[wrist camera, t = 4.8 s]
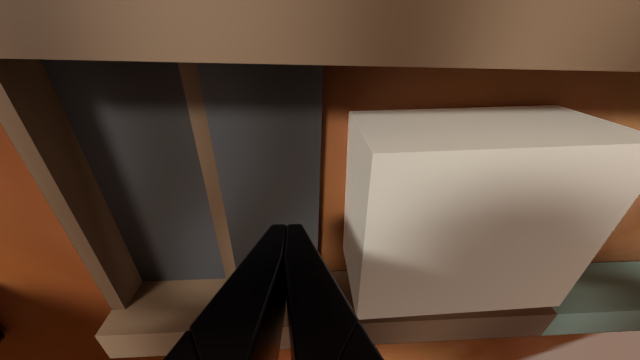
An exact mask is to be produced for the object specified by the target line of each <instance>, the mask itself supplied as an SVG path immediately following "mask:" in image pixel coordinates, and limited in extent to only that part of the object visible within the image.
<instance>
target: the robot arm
mask: <svg viewBox="0 0 640 360" xmlns="http://www.w3.org/2000/svg"><path fill="white" fill-rule="evenodd" d="M286 302H287V318H288V329H289V340H290V350H291V360H384V359H383V357H382V356H381V354H380V353H379V351H378V350H377V348H376V346H375V345H374V343H373V342H372V340H371V339H370V337H369V335H368V334H367V332H366V330H365V329H364V327H363V325H362V324H361V323H359V319H358V317H357V316H356V314H355V312H354V311H353V309H352V307H351V306H350V304H349V302H348V301H347V299H346V297H345V296H344V294H343V292H342V290H341V289H340V287H339V285H338V284H337V282H336V280H335V279H334V277H333V275H332V274H331V272H330V270H329V269H328V267H327V265H326V264H325V262H324V260H323V259H322V257H321V255H320V254H319V252H318V250H317V249H316V247H315V245H314V244H313V242H312V240H311V239H310V237H309V235H308V234H307V232H306V230H305V229H304V227H303V225H302V224H288V225H287V226H286V225H285V224H273V225H271V226H270V227H269V228H268V230H267V231H266V232H265V233H264V235H263V236H262V237H261V238H260V240H259V241H258V242H257V243H256V245H255V246H254V247H253V248H252V250H251V251H250V252H249V253H248V255H247V256H246V257H245V258H244V260H243V261H242V262H241V263H240V265H239V266H238V267H237V268H236V270H235V271H234V272H233V273H232V275H231V276H230V277H229V278H228V280H227V281H226V282H225V283H224V285H223V286H222V287H221V288H220V290H219V291H218V292H217V293H216V295H215V296H214V297H213V298H212V300H211V301H210V302H209V303H208V305H207V306H206V307H205V308H204V310H203V311H202V312H201V313H200V314H199V316H198V317H197V318H196V319H195V321H194V322H193V323H192V324H191V326H190V327H189V329H190V331H189V330H187V331H186V332H185V333H184V334H183V335H182V337H181V338H180V339H179V340H178V342H177V343H176V344H175V345H174V347H173V348H172V349H171V350H170V351H169V353H168V354H167V355H166V356H165V357H164V359H163V360H278V357H279V350H280V343H281V337H282V330H283V324H284V317H285V309H286ZM4 338H5V335H4V333H3V332H2V331H1V330H0V342H1V341H2V340H3V339H4Z"/></svg>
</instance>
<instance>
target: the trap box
mask: <svg viewBox="0 0 640 360" xmlns="http://www.w3.org/2000/svg"><path fill="white" fill-rule="evenodd" d="M323 65H335V66H384V67H432V68H480V69H529V70H577V71H625V72H640V0H0V123H1V124H2V126H3V128H4V129H5V131H6V133H7V134H8V136H9V138H10V140H11V141H12V143H13V145H14V146H15V148H16V150H17V151H18V153H19V155H20V156H21V158H22V160H23V161H24V163H25V165H26V166H27V168H28V170H29V171H30V173H31V175H32V177H33V178H34V180H35V182H36V183H37V185H38V187H39V188H40V190H41V192H42V193H43V195H44V197H45V198H46V200H47V202H48V203H49V205H50V207H51V209H52V210H53V212H54V214H55V215H56V217H57V219H58V220H59V222H60V224H61V225H62V227H63V229H64V230H65V232H66V234H67V235H68V237H69V239H70V240H71V242H72V244H73V246H74V247H75V249H76V251H77V252H78V254H79V256H80V257H81V259H82V261H83V262H84V264H85V266H86V267H87V269H88V271H89V272H90V274H91V276H92V277H93V279H94V281H95V283H96V284H97V286H98V288H99V289H100V291H101V293H102V294H103V296H104V298H105V299H106V301H107V303H108V304H109V306H110V308H111V309H112V311H111V312H110V314H109V315H108V317H107V318H106V320H105V321H104V323H103V324H102V326H101V327H100V329H99V330H98V332H97V333H96V335H95V338H96V339H97V340H98V342H99V343H100V345H101V346H102V348H103V349H104V350H105V352H106V353H107V355H108V356H109V358H110V359H111V358H130V357H149V356H166V355H167V354H168V353H169V351H170V350H171V349H172V348H173V347H174V345H175V344H176V343H177V342H178V340H179V339H180V338H181V337H182V335H183V334H184V333H185V332H186V331H187V330H189V331H190V329H189V327H190V326H191V324H192V323H193V322H194V321H195V319H196V318H197V317H198V316H199V314H200V313H201V312H202V311H203V310H204V308H205V307H206V306H207V305H208V303H209V302H210V301H211V300H212V298H213V297H214V296H215V295H216V293H217V292H218V291H219V290H220V288H221V287H222V286H223V285H224V283H225V282H226V281H227V280H228V278H229V277H230V276H231V275H232V273H233V272H234V271H235V270H236V268H237V267H238V266H239V265H240V263H241V262H242V261H243V260H244V258H245V257H246V256H247V255H248V253H249V252H250V251H251V250H252V248H253V247H254V246H255V245H256V243H257V242H258V241H259V240H260V238H261V237H262V236H263V235H264V233H265V232H266V231H267V230H268V228H269V227H270V226H271V225H273V224H285V225H286V226H287V225H288V224H302V225H303V227H304V229H305V230H306V232H307V234H308V235H309V237H310V239H311V240H312V242H313V244H314V245H315V247H316V249H317V250H318V226H319V193H320V161H321V128H322V96H323ZM331 274H332V275H333V277H334V279H335V280H336V282H337V284H338V285H339V287H340V289H341V290H342V292H343V294H344V296H345V297H346V299H347V301H348V302H349V304H350V306H351V307H352V309H353V311H354V312H355V309H354V304H353V299H352V294H351V288H350V283H349V278H348V272H347V271H331ZM359 323H361V324H362V325H363V327H364V329H365V330H366V332H367V334H368V335H369V337H370V339H371V340H372V342H373V343H374V345H375V344H394V343H413V342H432V341H451V340H470V339H489V338H508V337H527V336H545V335H564V334H583V333H602V332H621V331H638V330H639V331H640V261H632V262H602V263H590V264H589V265H588V267H587V268H586V269H585V271H584V272H583V274H582V275H581V276H580V278H579V279H578V281H577V282H576V283H575V285H574V286H573V288H572V289H571V290H570V292H569V293H568V295H567V296H566V297H565V299H564V300H563V302H562V303H561V304H560V306H553V307H538V308H524V309H509V310H494V311H480V312H465V313H450V314H436V315H421V316H406V317H392V318H377V319H362V320H359ZM281 349H290V340H289V329H288V318H287V302H286V309H285V317H284V324H283V330H282V337H281V343H280V350H281Z"/></svg>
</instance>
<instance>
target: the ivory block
mask: <svg viewBox="0 0 640 360" xmlns="http://www.w3.org/2000/svg"><path fill="white" fill-rule="evenodd" d="M639 194H640V131H639V130H636V129H633V128H630V127H626V126H623V125H620V124H617V123H614V122H610V121H607V120H604V119H601V118H598V117H594V116H591V115H588V114H585V113H582V112H578V111H575V110H572V109H569V108H566V107H562V106H559V105H540V106H506V107H472V108H439V109H405V110H371V111H349V122H348V145H347V168H346V191H345V214H344V236H343V251H344V257H345V262H346V267H347V272H348V278H349V283H350V288H351V294H352V299H353V304H354V309H355V314H356V316H357V317H358V319H359V320H362V319H377V318H392V317H406V316H421V315H436V314H450V313H465V312H480V311H494V310H509V309H524V308H538V307H553V306H560V304H561V303H562V302H563V300H564V299H565V297H566V296H567V295H568V293H569V292H570V290H571V289H572V288H573V286H574V285H575V283H576V282H577V281H578V279H579V278H580V276H581V275H582V274H583V272H584V271H585V269H586V268H587V267H588V265H589V264H590V262H591V261H592V260H593V258H594V257H595V255H596V254H597V253H598V251H599V250H600V249H601V247H602V246H603V244H604V243H605V242H606V240H607V239H608V237H609V236H610V235H611V233H612V232H613V230H614V229H615V228H616V226H617V225H618V223H619V222H620V221H621V219H622V218H623V216H624V215H625V214H626V212H627V211H628V209H629V208H630V207H631V205H632V204H633V202H634V201H635V200H636V198H637V197H638V195H639Z"/></svg>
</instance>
